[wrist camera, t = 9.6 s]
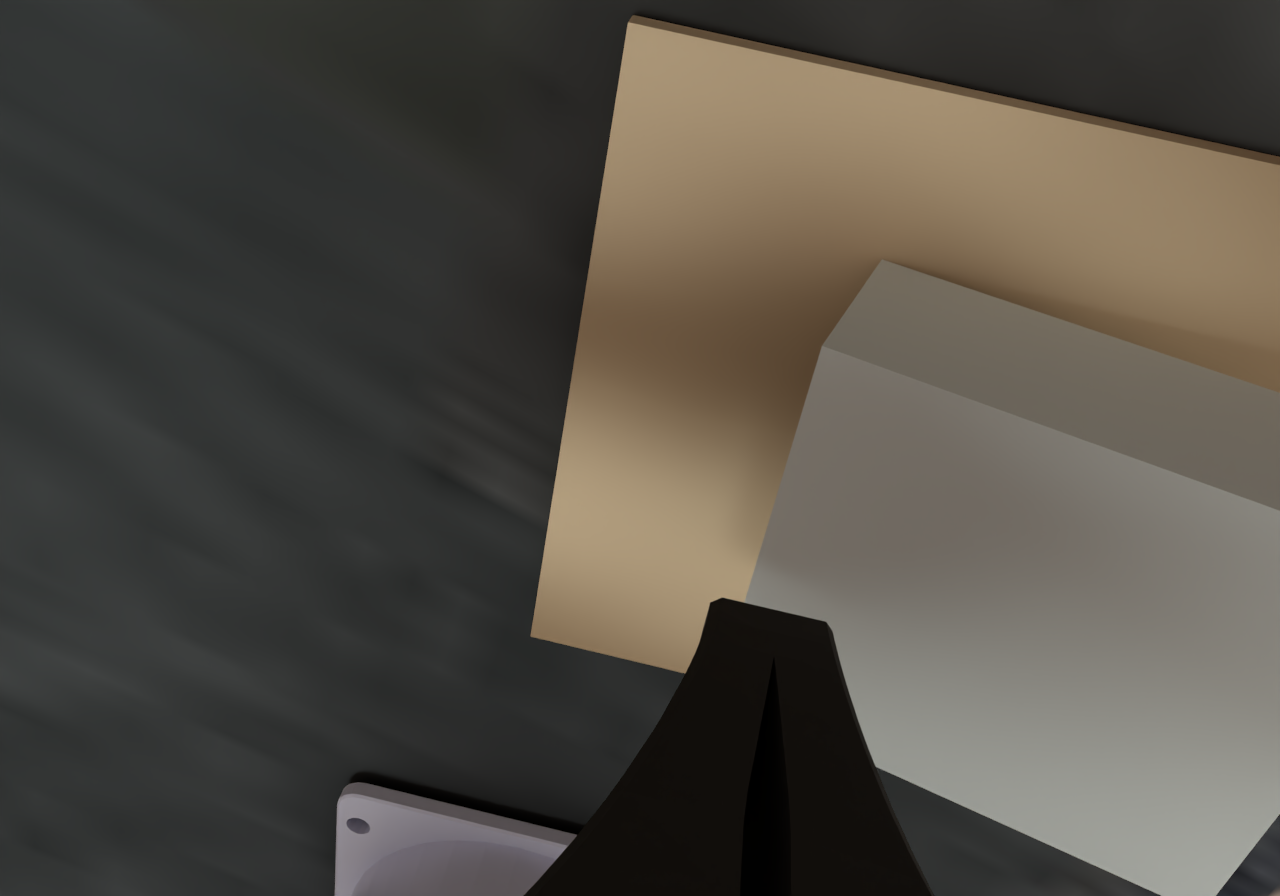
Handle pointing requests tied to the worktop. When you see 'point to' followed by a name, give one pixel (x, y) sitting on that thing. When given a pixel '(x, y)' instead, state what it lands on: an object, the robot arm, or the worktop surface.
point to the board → (841, 289)
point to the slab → (1044, 574)
